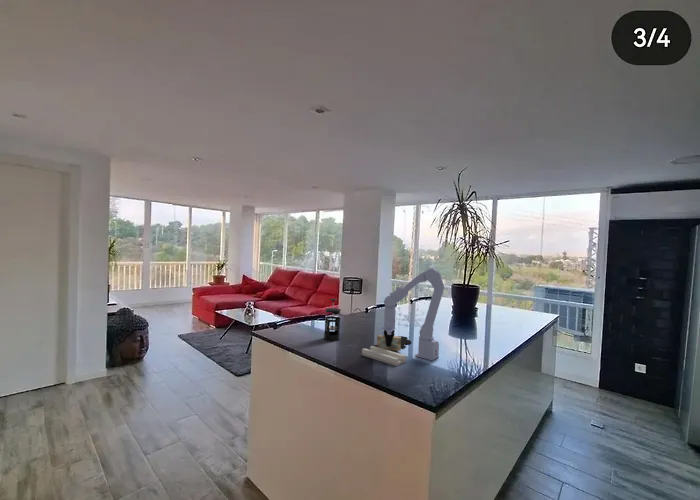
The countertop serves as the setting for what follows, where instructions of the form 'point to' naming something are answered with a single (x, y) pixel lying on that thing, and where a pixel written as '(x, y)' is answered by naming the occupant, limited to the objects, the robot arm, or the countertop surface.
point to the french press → (332, 334)
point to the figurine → (403, 343)
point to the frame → (394, 346)
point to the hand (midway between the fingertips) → (388, 345)
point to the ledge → (384, 355)
